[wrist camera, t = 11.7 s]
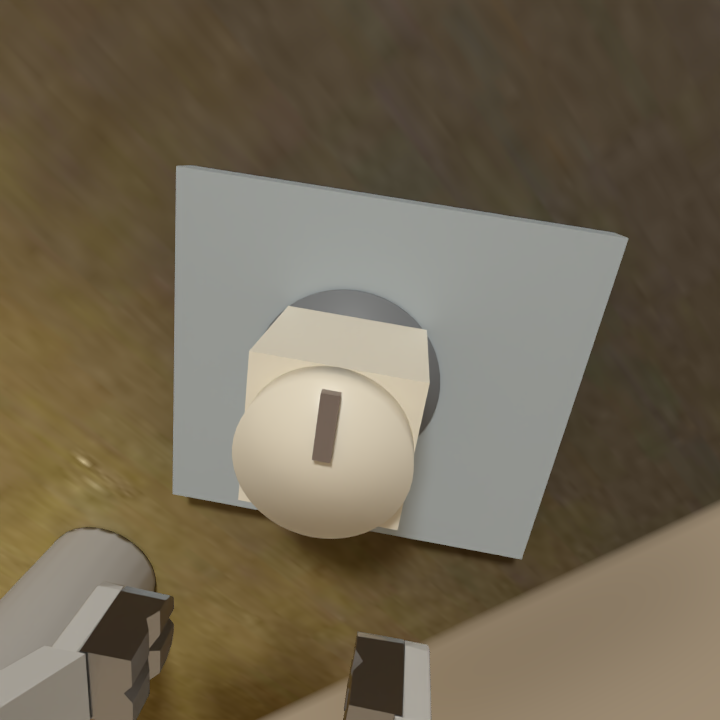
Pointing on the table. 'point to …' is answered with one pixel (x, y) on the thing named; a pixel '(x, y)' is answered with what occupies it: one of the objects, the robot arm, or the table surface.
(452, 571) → the table surface
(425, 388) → the knob
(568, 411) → the panel
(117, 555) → the bottle
